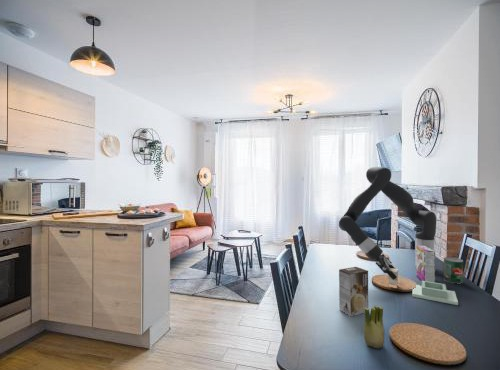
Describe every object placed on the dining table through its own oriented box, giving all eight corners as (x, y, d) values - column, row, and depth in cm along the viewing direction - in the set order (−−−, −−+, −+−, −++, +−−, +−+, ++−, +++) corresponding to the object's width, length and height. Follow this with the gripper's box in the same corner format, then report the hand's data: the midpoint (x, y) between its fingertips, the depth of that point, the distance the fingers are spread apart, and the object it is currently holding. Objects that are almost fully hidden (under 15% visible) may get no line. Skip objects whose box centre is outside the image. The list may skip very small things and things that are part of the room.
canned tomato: (460, 285, 132) (461, 262, 132) (441, 280, 138) (441, 259, 138) (464, 281, 138) (464, 259, 138) (445, 277, 144) (446, 256, 143)
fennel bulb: (364, 348, 83) (364, 308, 82) (363, 339, 87) (363, 301, 87) (385, 352, 81) (385, 311, 80) (383, 343, 85) (384, 304, 85)
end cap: (412, 286, 130) (413, 277, 130) (454, 294, 122) (454, 284, 122) (412, 296, 119) (412, 286, 119) (458, 305, 111) (458, 294, 111)
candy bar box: (415, 276, 145) (415, 245, 145) (425, 276, 144) (425, 245, 144) (424, 283, 134) (424, 250, 134) (435, 284, 133) (435, 251, 133)
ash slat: (389, 284, 134) (389, 268, 134) (397, 285, 132) (397, 269, 132) (388, 287, 130) (388, 270, 130) (397, 288, 128) (397, 271, 128)
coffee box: (356, 305, 111) (356, 266, 111) (368, 312, 105) (369, 270, 105) (338, 309, 107) (338, 269, 107) (350, 317, 101) (350, 274, 101)
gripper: (373, 247, 129) (401, 275, 123) (377, 241, 141) (403, 267, 135) (361, 256, 132) (388, 285, 126) (366, 250, 144) (391, 276, 138)
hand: (396, 275), depth 130 cm, fingers open, 8 cm apart
